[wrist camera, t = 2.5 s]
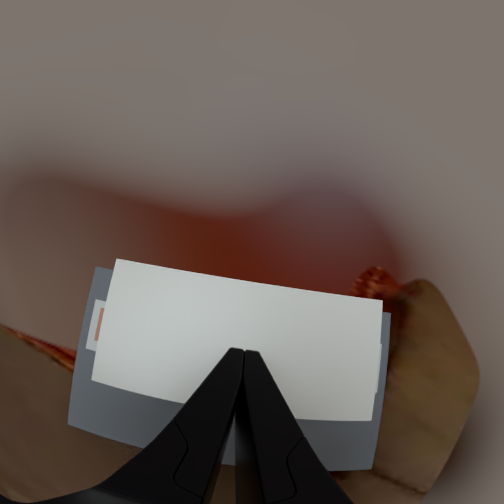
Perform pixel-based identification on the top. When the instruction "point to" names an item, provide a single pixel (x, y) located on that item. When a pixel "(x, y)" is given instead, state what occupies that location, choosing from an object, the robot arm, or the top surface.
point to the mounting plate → (162, 411)
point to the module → (238, 338)
